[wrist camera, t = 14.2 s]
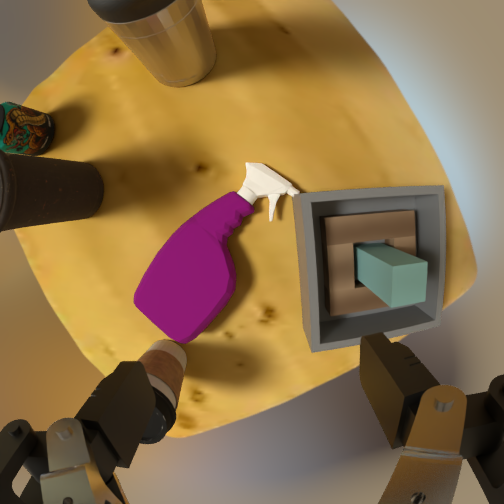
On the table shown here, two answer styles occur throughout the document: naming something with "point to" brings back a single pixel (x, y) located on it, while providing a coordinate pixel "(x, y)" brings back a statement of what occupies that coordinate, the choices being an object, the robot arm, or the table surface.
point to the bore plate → (342, 257)
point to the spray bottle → (203, 259)
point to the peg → (391, 273)
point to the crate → (368, 200)
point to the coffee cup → (163, 386)
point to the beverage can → (24, 130)
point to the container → (46, 190)
